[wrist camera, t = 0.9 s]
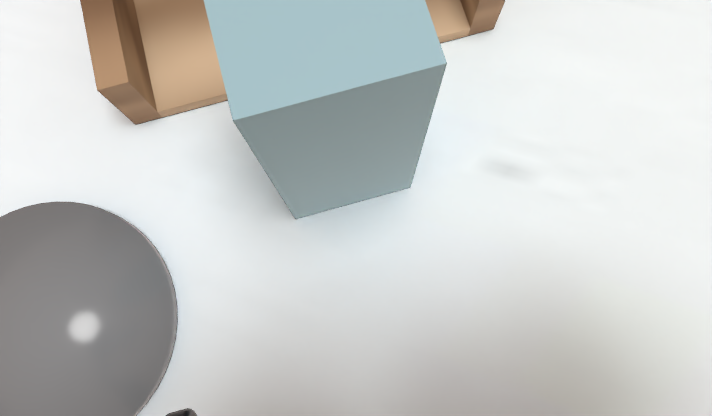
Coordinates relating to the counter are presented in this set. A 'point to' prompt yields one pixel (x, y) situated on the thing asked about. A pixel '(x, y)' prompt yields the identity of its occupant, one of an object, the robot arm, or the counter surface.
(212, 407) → the counter surface
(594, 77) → the counter surface
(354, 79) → the block
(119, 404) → the coaster
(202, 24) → the open-sided box
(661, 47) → the counter surface
